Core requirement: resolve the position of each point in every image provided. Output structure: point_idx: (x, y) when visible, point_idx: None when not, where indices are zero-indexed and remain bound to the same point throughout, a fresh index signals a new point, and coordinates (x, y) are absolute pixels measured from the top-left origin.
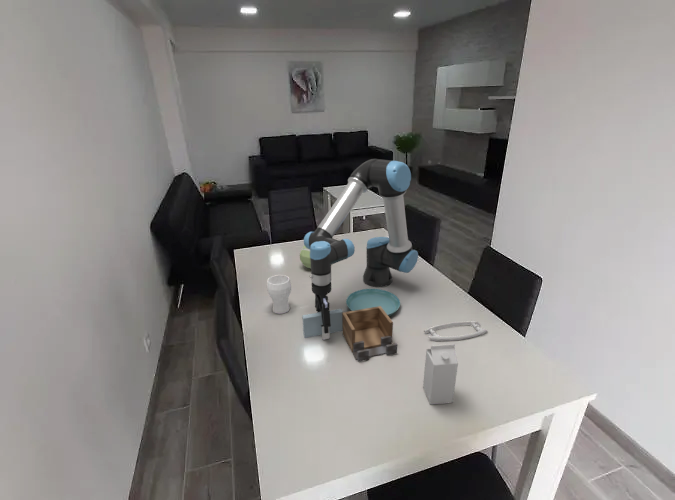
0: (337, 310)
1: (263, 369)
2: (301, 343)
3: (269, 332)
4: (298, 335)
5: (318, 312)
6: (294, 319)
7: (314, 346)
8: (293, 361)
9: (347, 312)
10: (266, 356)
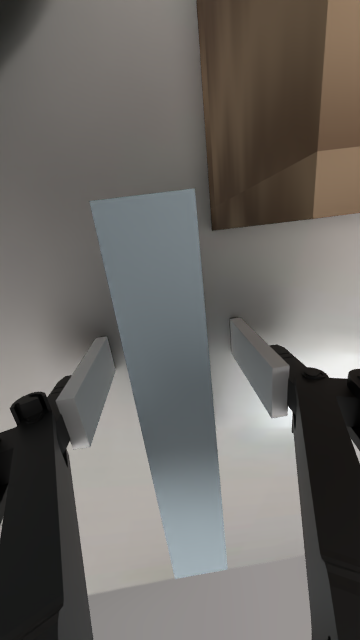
0: (140, 274)
1: None
2: (236, 436)
3: (132, 538)
4: None
5: (75, 435)
6: None
7: None
8: None
9: (346, 98)
10: (274, 528)
